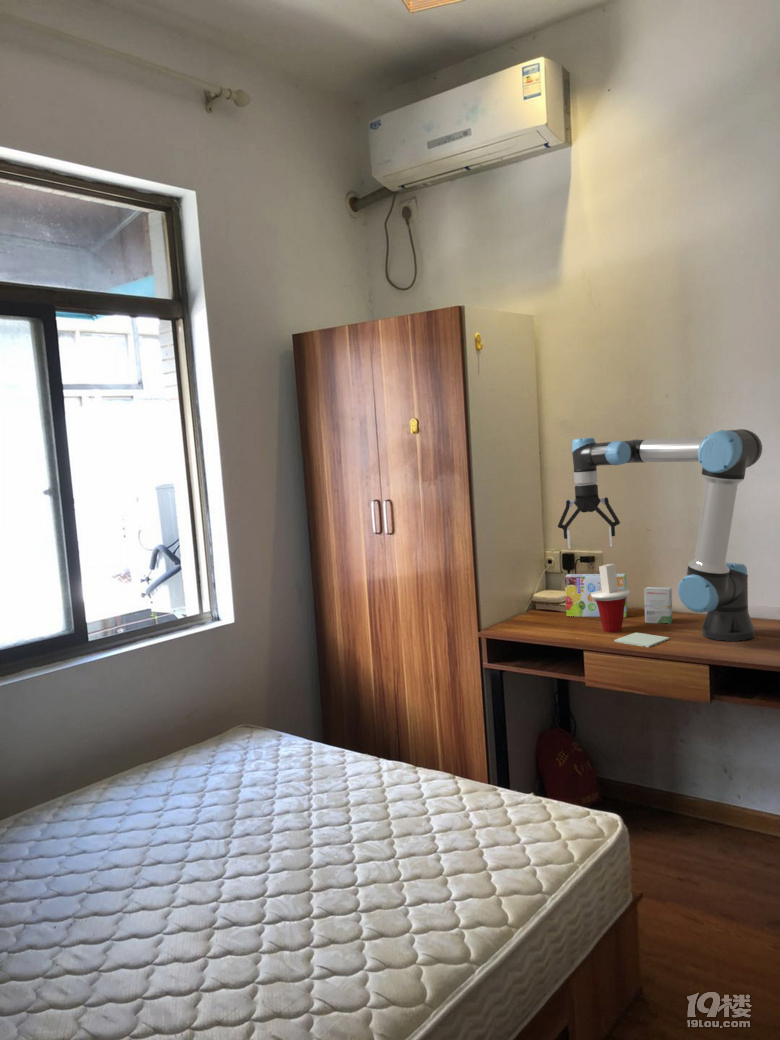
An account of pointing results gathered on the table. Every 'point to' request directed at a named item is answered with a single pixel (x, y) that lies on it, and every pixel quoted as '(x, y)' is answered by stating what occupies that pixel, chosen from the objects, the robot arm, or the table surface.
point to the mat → (641, 639)
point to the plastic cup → (611, 613)
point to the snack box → (586, 594)
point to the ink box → (658, 605)
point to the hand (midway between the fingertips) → (590, 547)
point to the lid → (609, 584)
